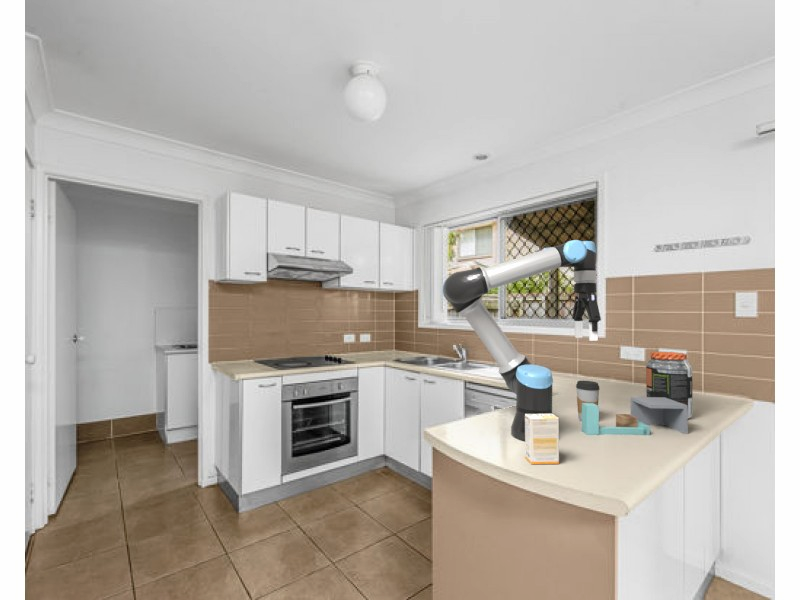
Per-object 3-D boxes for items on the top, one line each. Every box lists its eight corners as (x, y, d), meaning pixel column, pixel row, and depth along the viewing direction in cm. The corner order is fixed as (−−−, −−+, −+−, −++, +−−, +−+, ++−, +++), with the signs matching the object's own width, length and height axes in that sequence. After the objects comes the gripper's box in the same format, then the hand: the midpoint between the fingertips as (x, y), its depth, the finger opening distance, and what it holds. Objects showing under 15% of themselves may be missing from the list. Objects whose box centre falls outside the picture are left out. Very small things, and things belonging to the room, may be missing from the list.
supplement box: (552, 458, 113) (552, 413, 113) (559, 464, 108) (559, 417, 108) (524, 458, 112) (524, 413, 113) (530, 464, 108) (530, 417, 108)
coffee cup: (602, 424, 146) (602, 384, 146) (578, 423, 147) (578, 383, 147) (595, 418, 154) (595, 380, 154) (573, 417, 155) (573, 379, 156)
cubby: (650, 433, 136) (650, 404, 136) (630, 423, 148) (630, 396, 148) (687, 433, 136) (687, 405, 136) (664, 423, 148) (664, 397, 148)
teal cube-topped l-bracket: (586, 434, 134) (587, 405, 134) (573, 425, 145) (573, 398, 145) (651, 436, 133) (651, 406, 133) (633, 426, 144) (633, 399, 144)
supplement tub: (701, 418, 155) (701, 354, 156) (675, 422, 149) (675, 355, 150) (662, 408, 170) (662, 350, 170) (637, 412, 164) (637, 351, 165)
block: (623, 431, 138) (623, 417, 138) (615, 427, 143) (615, 413, 143) (637, 432, 138) (637, 418, 138) (629, 427, 143) (629, 414, 143)
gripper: (610, 280, 132) (611, 342, 132) (582, 284, 157) (582, 336, 157) (588, 280, 133) (589, 342, 133) (563, 284, 158) (564, 336, 157)
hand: (585, 339), depth 145 cm, fingers open, 13 cm apart
